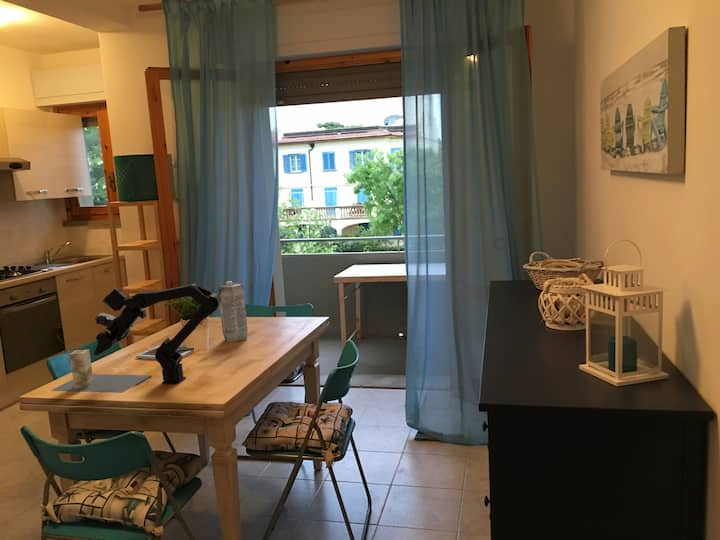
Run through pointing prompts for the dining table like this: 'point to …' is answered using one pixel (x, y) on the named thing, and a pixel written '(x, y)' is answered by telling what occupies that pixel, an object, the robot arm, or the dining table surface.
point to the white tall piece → (81, 368)
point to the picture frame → (151, 353)
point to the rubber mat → (107, 383)
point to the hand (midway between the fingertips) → (100, 351)
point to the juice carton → (233, 312)
